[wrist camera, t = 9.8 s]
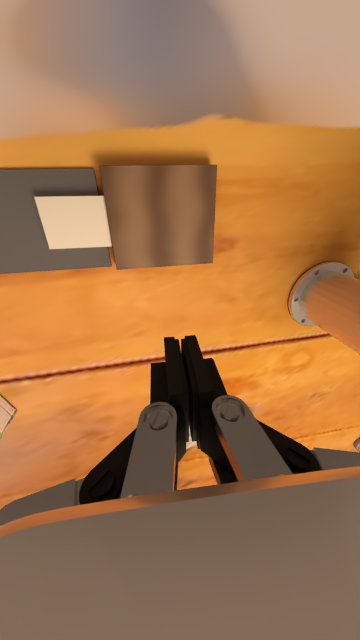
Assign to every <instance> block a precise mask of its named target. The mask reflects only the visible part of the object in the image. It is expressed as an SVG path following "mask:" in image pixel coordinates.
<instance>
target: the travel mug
mask: <svg viewBox="0 0 360 640" xmlns="http://www.w3.org/2000/svg"><path fill="white" fill-rule="evenodd" d="M354 446H355V448H356V449H357V450H358V451H359V452H360V438H358V439H357V440H356V441H355V442H354Z"/></svg>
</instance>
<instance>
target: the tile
mask: <svg viewBox="0 0 360 640" xmlns="http://www.w3.org/2000/svg"><path fill="white" fill-rule="evenodd" d="M34 198H35V201H36V205H37V208H38V212H39V215H40V218H41V222H42V225H43V228H44V232H45V235H46V239H47V242H48V245H49V249H67V248H89V247H112V246H113V245H112V239H111V233H110V227H109V221H108V215H107V210H106V204H105V198H104V196H51V197H34Z"/></svg>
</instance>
